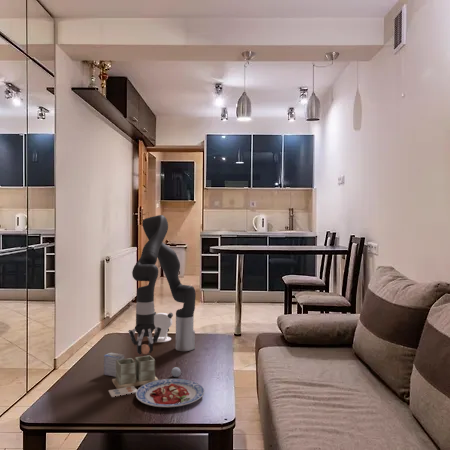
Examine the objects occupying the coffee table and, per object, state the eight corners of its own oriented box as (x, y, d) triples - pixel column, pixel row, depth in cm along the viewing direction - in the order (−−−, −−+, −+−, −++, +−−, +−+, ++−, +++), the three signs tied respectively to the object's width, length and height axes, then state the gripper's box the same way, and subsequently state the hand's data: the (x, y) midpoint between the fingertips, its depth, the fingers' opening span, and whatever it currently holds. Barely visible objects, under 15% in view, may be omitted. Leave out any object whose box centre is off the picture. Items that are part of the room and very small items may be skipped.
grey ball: (178, 374, 181) (178, 365, 181) (181, 377, 178) (182, 368, 178) (169, 375, 179) (169, 366, 179) (173, 379, 176) (173, 369, 176)
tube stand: (152, 374, 180) (152, 354, 180) (158, 382, 172) (158, 360, 172) (112, 381, 173) (112, 359, 173) (117, 389, 165) (117, 366, 165)
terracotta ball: (148, 352, 177) (148, 342, 177) (150, 354, 173) (151, 345, 173) (138, 353, 175) (138, 343, 175) (141, 356, 172) (141, 346, 172)
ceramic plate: (124, 393, 161) (124, 386, 161) (182, 379, 177) (182, 372, 176) (155, 419, 140) (155, 410, 140) (217, 400, 156) (217, 392, 156)
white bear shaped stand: (174, 337, 240) (174, 311, 240) (169, 342, 229) (170, 315, 229) (153, 336, 241) (154, 310, 241) (148, 341, 230) (148, 314, 230)
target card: (133, 386, 167) (133, 385, 167) (137, 392, 162) (137, 391, 162) (108, 391, 163) (108, 390, 163) (111, 397, 157) (111, 395, 157)
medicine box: (124, 374, 181) (125, 354, 181) (118, 378, 177) (118, 357, 177) (110, 371, 184) (110, 352, 184) (103, 375, 180) (103, 354, 180)
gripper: (158, 308, 181) (158, 348, 181) (126, 311, 174) (125, 352, 174) (164, 312, 174) (164, 353, 174) (130, 315, 168) (130, 358, 168)
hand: (144, 352), depth 174 cm, fingers closed on terracotta ball, 3 cm apart
